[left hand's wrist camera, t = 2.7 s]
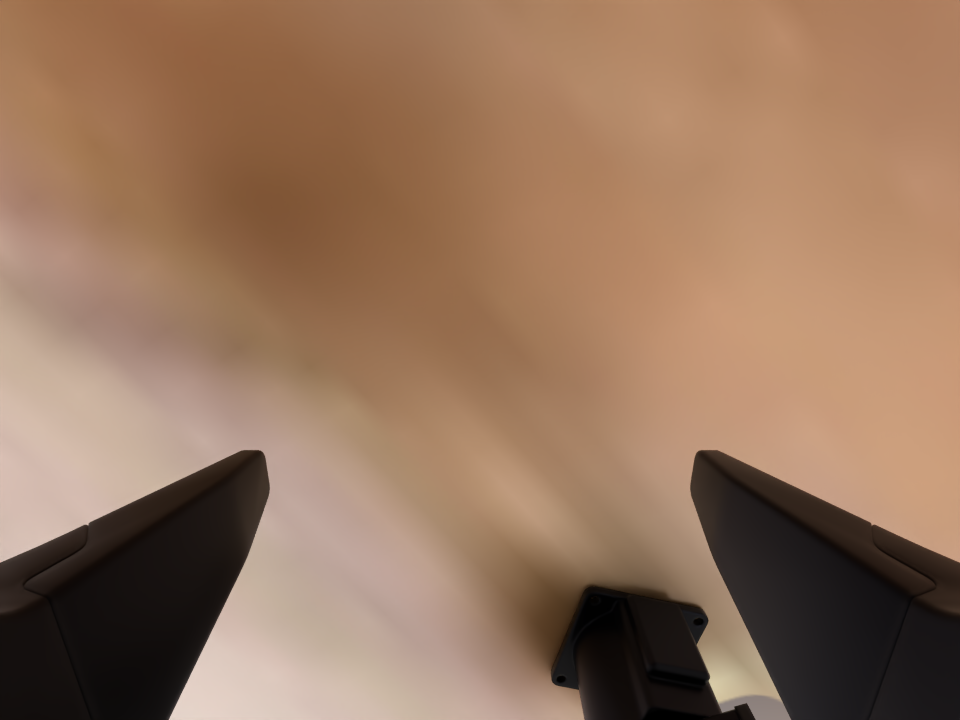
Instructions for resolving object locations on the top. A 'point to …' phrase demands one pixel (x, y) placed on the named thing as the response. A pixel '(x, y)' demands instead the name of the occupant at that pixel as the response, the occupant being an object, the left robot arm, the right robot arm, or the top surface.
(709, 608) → the top surface
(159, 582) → the left robot arm
